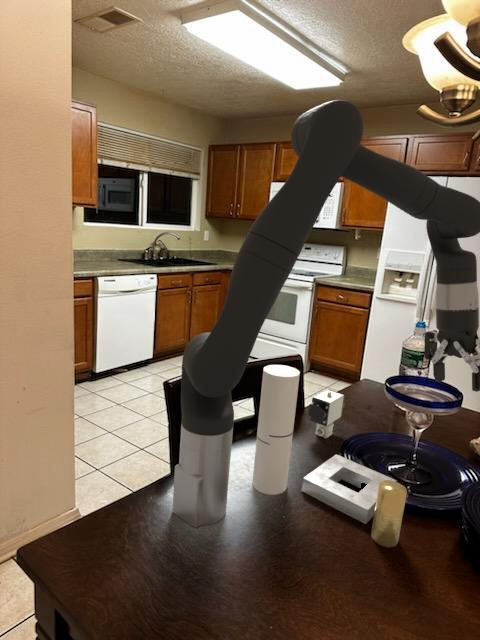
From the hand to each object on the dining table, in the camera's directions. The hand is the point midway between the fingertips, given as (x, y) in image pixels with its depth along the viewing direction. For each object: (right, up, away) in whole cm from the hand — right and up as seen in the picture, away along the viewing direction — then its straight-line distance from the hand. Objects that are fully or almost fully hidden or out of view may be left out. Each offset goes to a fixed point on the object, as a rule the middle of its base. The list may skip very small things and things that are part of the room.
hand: (458, 385), depth 88 cm
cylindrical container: (-38, -21, +3) cm, 43 cm away
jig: (-21, -23, +3) cm, 31 cm away
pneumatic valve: (-22, -17, +28) cm, 40 cm away
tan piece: (-18, -26, -10) cm, 33 cm away
